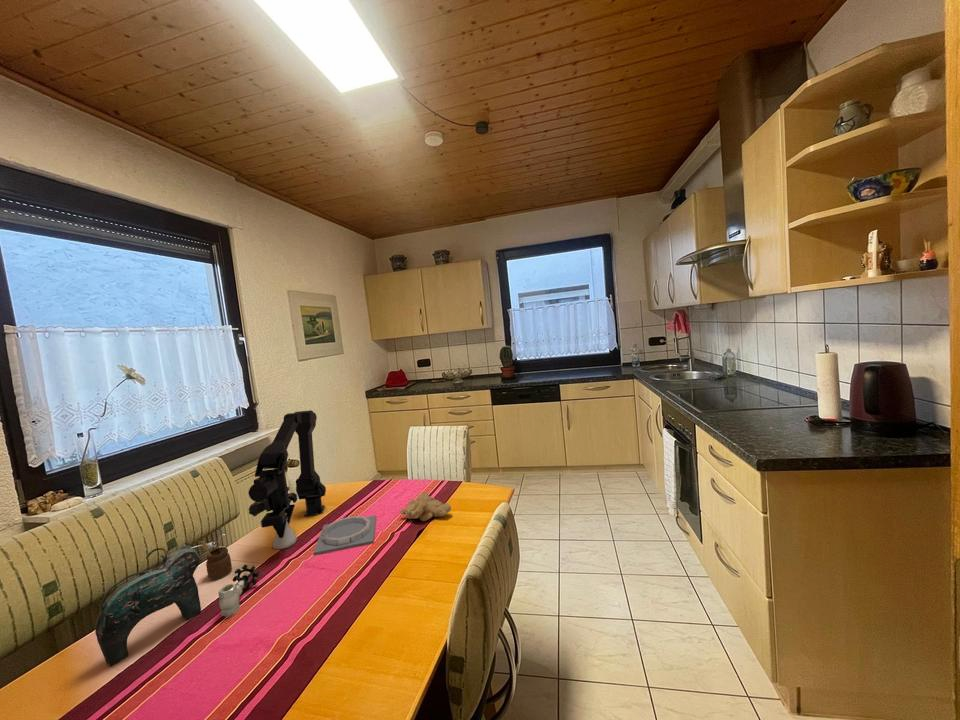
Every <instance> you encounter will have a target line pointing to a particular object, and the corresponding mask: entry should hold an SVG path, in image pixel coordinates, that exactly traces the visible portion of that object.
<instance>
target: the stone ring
mask: <svg viewBox="0 0 960 720" xmlns="http://www.w3.org/2000/svg"><path fill="white" fill-rule="evenodd" d="M366 517H367V516H361V515H353V516H348V517H343V518H340V519H338V520H334V521H333V522H331V523H329V524H330V525H328V526H327V527H326V528H324V530H323V532H322V541H324V542H325V543H326V544H327V545H336V546H337V545H338V546H339V545H343V544H348V543H352V542H354V541H356V540H359V539H361V538H363V537H364V536H365V535H366V534H367V533H368V532H369V531H370V528H371V522H370V520H369V519H368V518H366ZM354 522H355V523H363V524H365V525H366V526H365V527H364V528H363V529H362V530H361V531H359V532H357V533H355V534H353V535H351V536H347V537H342V538H332V537H329V536H328V533H330V532H331V531H332V530H333V529H335V528H337V527H339V526H342V525H344V524H349V523H354Z"/></svg>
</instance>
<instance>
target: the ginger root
mask: <svg viewBox="0 0 960 720" xmlns="http://www.w3.org/2000/svg"><path fill="white" fill-rule="evenodd" d="M451 510H452V506H451V505H450V503H449V502H445V503H443V502H441V501H440V500H439V499H435V498H434V497H433V496H430V495H429V493H427V492H425V491H423V492H422V493H420V494H418V495H417V498H416V499H411V500H410V501H408V504H407V506H406V507H405V508H403V509H401V510H398V511H399V512H398V513H400V514H401V515H405V516H406V517H407V519H408V520H411V519H413V520H414V519H419V520H420V521H421V522H426V521H428V520H430V519H431V518H434V517H435V518H438V517H439V518H440V517H444V516H446V515H448V513H450V511H451Z"/></svg>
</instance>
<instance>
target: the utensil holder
mask: <svg viewBox="0 0 960 720" xmlns="http://www.w3.org/2000/svg"><path fill="white" fill-rule="evenodd" d="M222 537H223V539H222ZM226 537H227V535H226V534H221V535H220V536H219V537H218V539H217V542H220V540H222V541H225V539H226ZM200 542H201V544H202V546H203V549H204V550H205V551H206V552H207V553H206V564H205V565H206V573H207V578H208V580H212V581H215V580H219V579H223V578H224V577H226V576H228V575H229V574H230V573H231V572H232V569H233V566H232V560H231V554H230V553H229V550H228V547H227V546H226V545H228V542H225V543H223V546H217V548H215V549H211V550H210V549H209V547H208V545H207V544H206V541H203V540H201V541H200Z"/></svg>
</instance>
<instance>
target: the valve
mask: <svg viewBox="0 0 960 720" xmlns="http://www.w3.org/2000/svg"><path fill="white" fill-rule="evenodd" d="M255 570H256V566H255V565H252V566H251V567H250V568H249V567H248V564H243V565H242V567H241V568H236V569H235V570H234V574H235V575H234V577H233V578H232V581H233V582H234V583H227V584H225V585H224V586H222V587H220V589H219V590H218V591H217V592H218V598H219V601H218V605H219V608H220V609H221V610H220V611H221V612H220V613H221V617H223V616H225V617H224V618H226V617H228V618H230V617H232V616H231V615H232V614H235V613H236V612H237V611H238V609H239V608H240V609H241V607H240V606H241V605H240V602H239V601H240V596H241V595H242V593H243V588H244V590H248V589H247V588H249V589H250V588H251V584H252V586H256V585H257V583H258V579H256V578H259V576H260V575H261V574H260V572H259V571H256V572H255ZM245 572H247V573H245ZM242 573H244V574H243V575H242V576H241V574H242ZM236 574H237V575H236ZM251 577H252V578H251ZM250 578H251V580H250ZM235 582H237V583H236V584H235ZM240 609H239V610H240ZM238 612H239V611H238ZM238 612H237V613H238ZM237 613H236V614H237ZM236 614H235V615H236ZM229 616H230V617H229Z"/></svg>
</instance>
